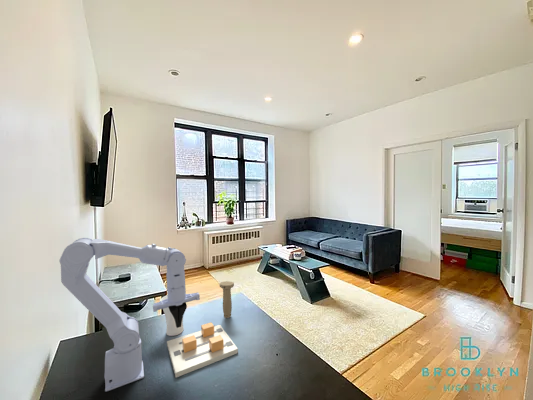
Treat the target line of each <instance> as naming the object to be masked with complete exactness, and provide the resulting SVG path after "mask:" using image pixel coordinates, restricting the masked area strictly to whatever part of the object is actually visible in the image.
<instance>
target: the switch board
mask: <svg viewBox="0 0 533 400" xmlns="http://www.w3.org/2000/svg"><path fill="white" fill-rule="evenodd" d="M193 335H194V336H195V338H196V342H197V349H194V350H191V351H188V352H185V353H184V350H183V345H182V339H184V338H187V337H190V336H193ZM218 335H221V337H222V338H223V343H224V348H223V349H220V350H218V351H215V352H212V351H211V350H210V348H209V338H212V337H215V336H218ZM166 346H167V349H168V353H169V358H170V361H171V365H172V369H173V373H174V377H175V378H176V379H177V378H179V377H181V376H184V375H186V374H189V373H191V372H193V371H194V372H195V371H196V370H199V369H201V368H204V367H206V366H207V367H208V366H209V365H211V364H214V363H216V362H218V361H221V360H223V359H227V358H228V357H231V356H233V355H236V354H238V353H239V349H238V347H237V345H236V344H235V343H234V342H233V340H232V339H231V337H230V336H229V335H228V334H227V332H226V330H224V328H223V327H222V325H221V324H218V325H214V334H212V335H209V336H206V337H203V335H202V333H201V330H198V331H194V332H191V333H189V334H185V335H182V336H180V337H176V338H173V339H170V340H167V341H166Z"/></svg>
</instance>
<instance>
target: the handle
mask: <svg viewBox="0 0 533 400" xmlns="http://www.w3.org/2000/svg"><path fill="white" fill-rule="evenodd" d="M234 287H235V282H234V281H229V280H228V281H221V282H219V288H221V289H222V313H223V317H224V318H225V319H229V318H231V317H232V310H233V309H232V308H233V306H232V305H233V304H232V303H233V301H232V288H234Z"/></svg>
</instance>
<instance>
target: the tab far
mask: <svg viewBox="0 0 533 400" xmlns="http://www.w3.org/2000/svg"><path fill="white" fill-rule="evenodd" d="M214 326H215V325H214V324H213V323H212V321H211V322H207V323H204V324H201V325H200V327H201V329H200V331H201V333H202V335H203V337H206V336H209V335H212V334H214Z"/></svg>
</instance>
